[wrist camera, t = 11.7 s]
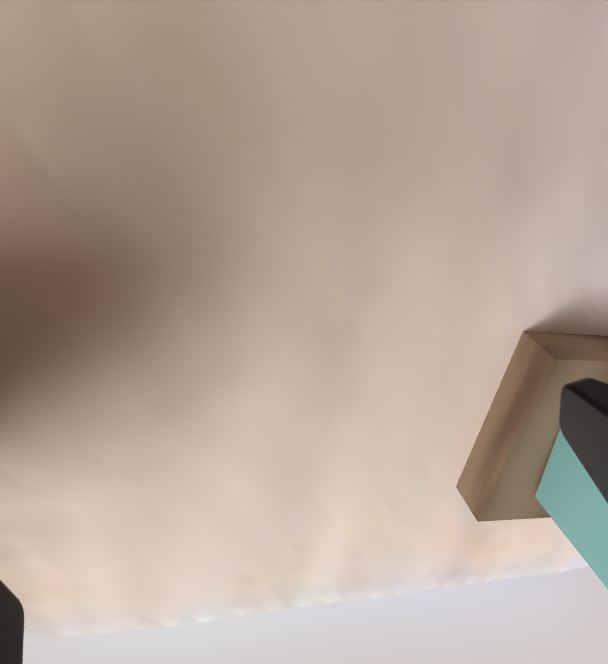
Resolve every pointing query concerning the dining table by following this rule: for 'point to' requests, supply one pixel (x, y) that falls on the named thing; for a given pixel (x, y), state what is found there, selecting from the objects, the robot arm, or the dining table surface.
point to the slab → (526, 423)
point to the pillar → (576, 506)
